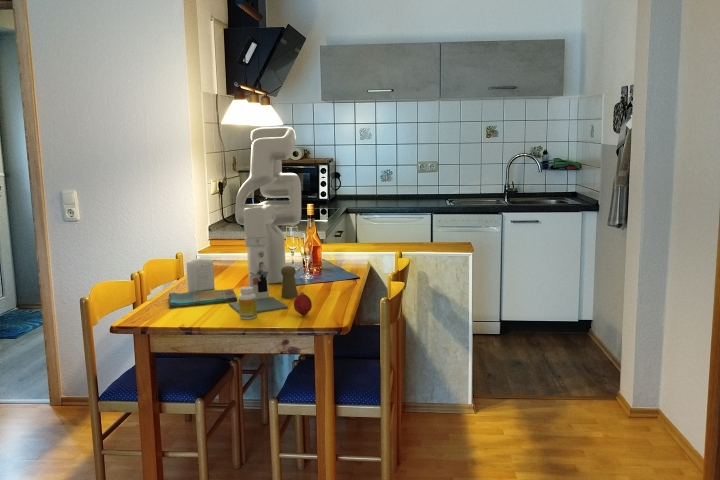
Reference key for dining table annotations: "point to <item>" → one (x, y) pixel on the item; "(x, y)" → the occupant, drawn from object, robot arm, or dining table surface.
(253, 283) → the card box
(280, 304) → the mat
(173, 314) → the dining table surface
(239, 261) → the dining table surface
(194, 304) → the dish towel
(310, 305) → the onion
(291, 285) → the pepper shaker
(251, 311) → the supplement bottle
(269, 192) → the robot arm
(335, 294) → the dining table surface
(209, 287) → the photo printer
